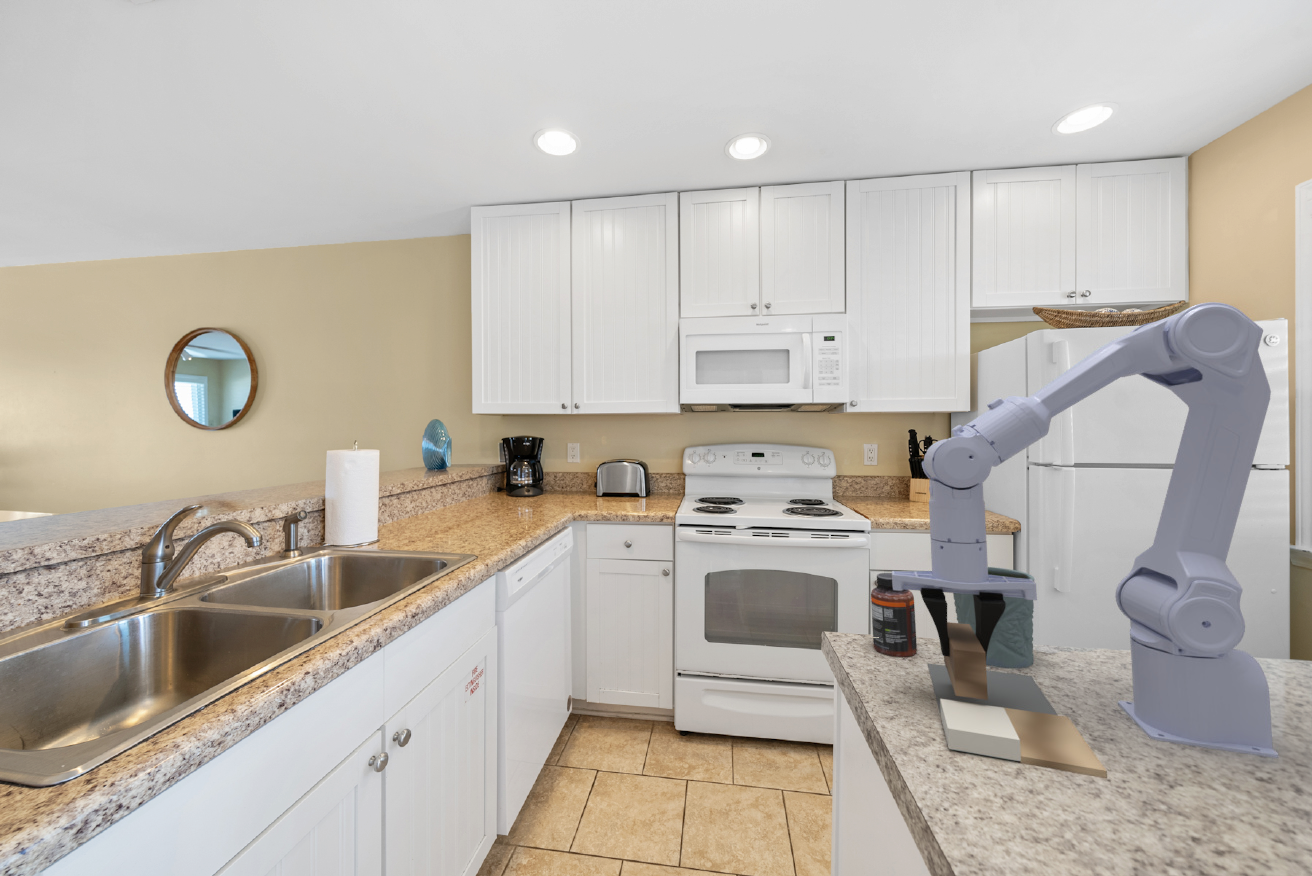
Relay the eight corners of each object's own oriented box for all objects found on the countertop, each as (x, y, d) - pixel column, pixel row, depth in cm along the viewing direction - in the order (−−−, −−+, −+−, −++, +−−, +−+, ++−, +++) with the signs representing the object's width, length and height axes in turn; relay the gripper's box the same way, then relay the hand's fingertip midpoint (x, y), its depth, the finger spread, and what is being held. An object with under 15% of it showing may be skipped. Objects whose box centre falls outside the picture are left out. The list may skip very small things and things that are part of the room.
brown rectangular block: (971, 664, 64) (969, 624, 64) (987, 699, 55) (985, 652, 55) (944, 661, 65) (942, 621, 65) (955, 695, 56) (953, 649, 56)
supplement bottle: (907, 644, 79) (904, 570, 79) (924, 659, 73) (920, 580, 74) (867, 643, 80) (864, 570, 80) (880, 659, 74) (877, 580, 74)
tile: (1003, 707, 55) (1019, 739, 49) (1004, 728, 55) (1020, 762, 49) (940, 698, 57) (947, 728, 51) (940, 718, 57) (948, 750, 51)
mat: (1031, 678, 67) (1031, 675, 67) (1095, 773, 47) (1095, 769, 47) (927, 665, 71) (927, 663, 71) (947, 747, 52) (947, 744, 52)
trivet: (1068, 725, 55) (1067, 716, 55) (1107, 781, 46) (1106, 770, 46) (997, 714, 58) (997, 706, 58) (1020, 765, 49) (1020, 755, 49)
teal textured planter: (1054, 674, 67) (1050, 583, 68) (971, 671, 69) (967, 582, 69) (1014, 645, 77) (1010, 565, 78) (942, 643, 79) (939, 565, 79)
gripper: (1022, 536, 61) (1027, 650, 61) (889, 531, 67) (894, 636, 67) (1039, 546, 55) (1046, 674, 54) (891, 541, 61) (896, 656, 60)
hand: (963, 655), depth 60 cm, fingers closed on brown rectangular block, 3 cm apart
